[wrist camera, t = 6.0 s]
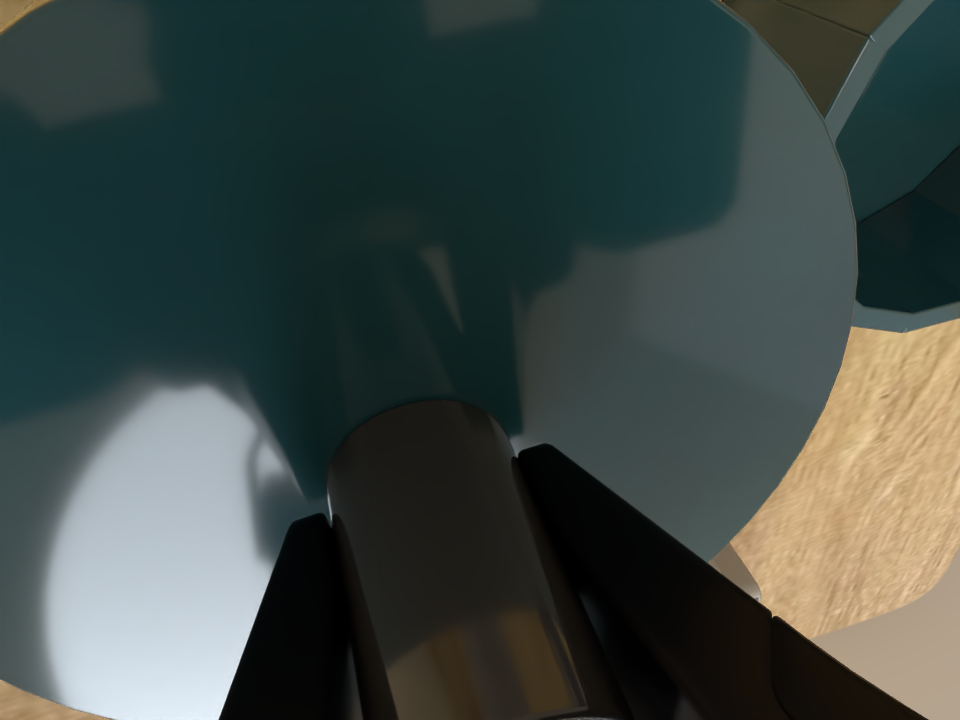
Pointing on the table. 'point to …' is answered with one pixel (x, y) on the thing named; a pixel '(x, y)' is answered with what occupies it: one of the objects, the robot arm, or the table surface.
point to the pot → (886, 139)
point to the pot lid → (389, 326)
